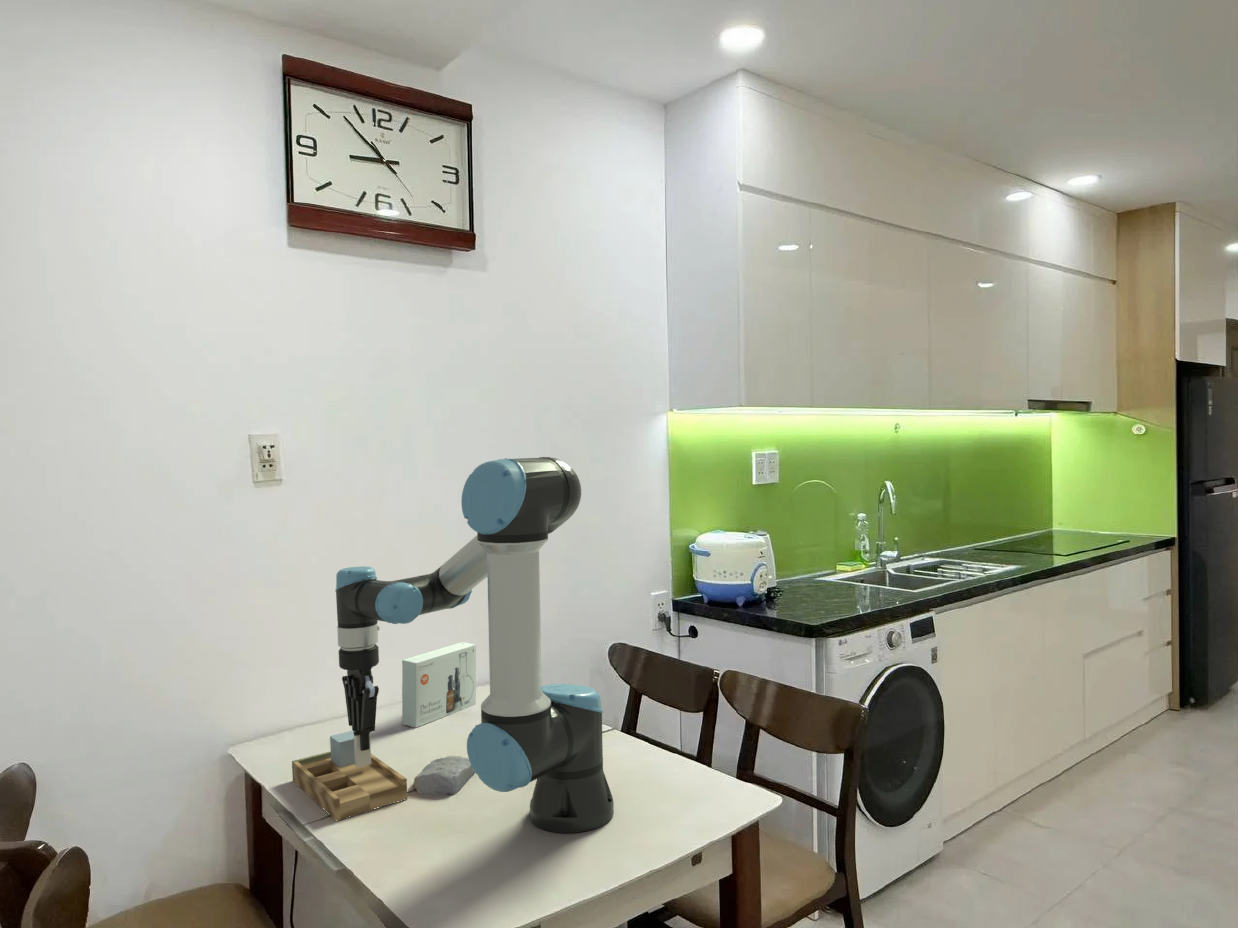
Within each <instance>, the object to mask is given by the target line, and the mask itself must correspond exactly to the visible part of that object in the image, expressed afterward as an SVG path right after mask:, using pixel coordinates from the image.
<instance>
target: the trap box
mask: <svg viewBox="0 0 1238 928" xmlns="http://www.w3.org/2000/svg"><path fill="white" fill-rule="evenodd" d="M291 768H292V771H291V772H292V781H293V782H294V784H296V785H297V787H299V788H300V789H301V790H302V791H303V792H305V793H306V795H307V796H309V798H310V799H312V800H313V799H314V800H315V801H316V802H317V803H318V804H319V805H320V806H321V807H322V808H324V809H325V810H326V811H327V812H328V813H329V814H330V815H331V816H332V817H333V818H334V819H335V820H339V821H341V820H340V819H342V820H344V819H343V818H345V819H347V818H346V817H348V818H350V817H349V816H352V817H354V816H353V815H355V816H357V815H356V814H358V815H360V814H359V813H361V814H364V813H363V812H365V811H368V812H370V811H369V810H371V811H373V810H372V809H374V808H377V807H381V806H384V805H387V804H390V803H393V802H397V801H401V800H404V799H407V800H408V781H407V780H408V779H407V777H405V776H404V775H402V774H401V773H399V772H398V771H396V770H395V769H393V768H392V767H391V766H389V765H388V764H387V763H385V762H384V761H382V760H381V759H379V758H378V757H376V755H374V754H372V753H371V764H369V765H366V766H362V767H356V766H355V763H354V764H350V765H346V766H343V767H339V766H338V765H336V764H335V763H334V762H333V761H331V750H330V751H327V752H323V753H320V754H319V753H318V754H315V755H311V756H308V757H307V756H306V757H303V758H299V759H295V760H292V761H291ZM314 800H313V801H314ZM315 801H314V802H315ZM404 801H405V800H404ZM316 802H315V803H316ZM401 802H402V801H401ZM317 803H316V804H317ZM397 803H398V802H397ZM318 804H317V805H318ZM319 805H318V806H319ZM320 806H319V807H320ZM321 807H320V808H321ZM384 807H385V806H384ZM322 808H321V809H322ZM381 808H382V807H381ZM374 810H375V809H374ZM326 811H325V812H326ZM327 812H326V813H327ZM328 813H327V814H328ZM365 813H366V812H365ZM329 814H328V815H329ZM330 815H329V816H330ZM331 816H330V817H331ZM332 817H331V818H332ZM333 818H332V819H333ZM334 819H333V820H334ZM335 820H334V821H335Z"/></svg>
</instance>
